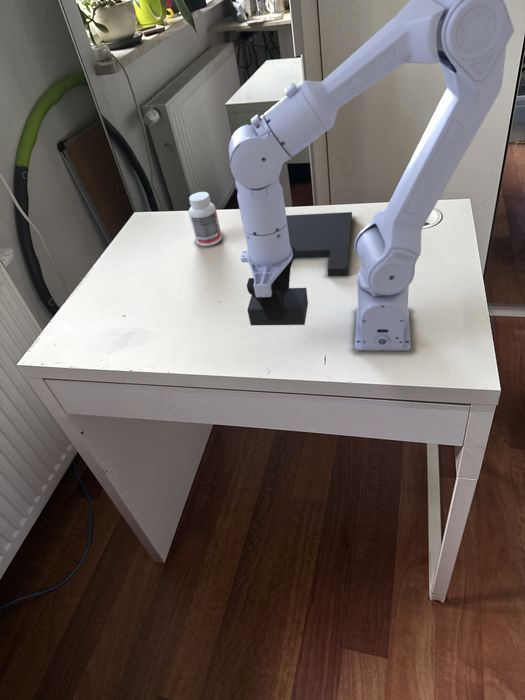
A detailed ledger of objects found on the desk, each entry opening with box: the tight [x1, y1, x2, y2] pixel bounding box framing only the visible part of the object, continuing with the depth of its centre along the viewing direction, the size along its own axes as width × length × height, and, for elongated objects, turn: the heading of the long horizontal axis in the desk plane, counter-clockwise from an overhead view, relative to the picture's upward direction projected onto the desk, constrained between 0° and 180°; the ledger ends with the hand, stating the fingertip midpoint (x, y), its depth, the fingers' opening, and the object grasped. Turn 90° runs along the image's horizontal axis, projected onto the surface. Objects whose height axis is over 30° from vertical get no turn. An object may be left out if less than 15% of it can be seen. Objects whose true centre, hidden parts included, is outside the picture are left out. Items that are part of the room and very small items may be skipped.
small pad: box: [246, 287, 309, 326], centre depth 76 cm, size 5×8×3 cm, turn 81°
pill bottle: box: [188, 191, 223, 247], centre depth 105 cm, size 5×5×10 cm
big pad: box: [286, 211, 353, 277], centre depth 100 cm, size 20×16×2 cm
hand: (278, 306), depth 76 cm, fingers closed on small pad, 5 cm apart
